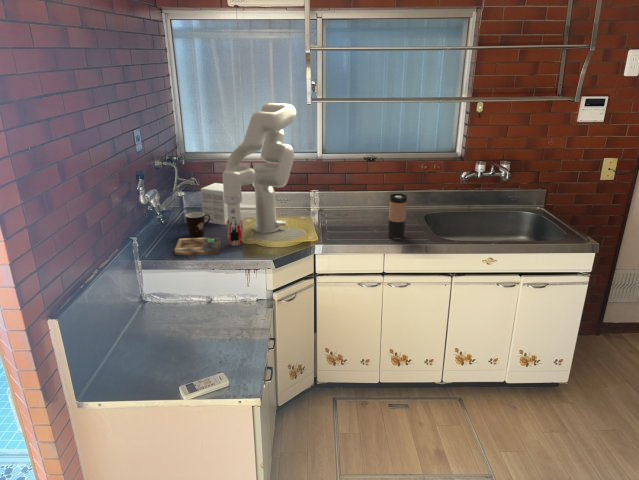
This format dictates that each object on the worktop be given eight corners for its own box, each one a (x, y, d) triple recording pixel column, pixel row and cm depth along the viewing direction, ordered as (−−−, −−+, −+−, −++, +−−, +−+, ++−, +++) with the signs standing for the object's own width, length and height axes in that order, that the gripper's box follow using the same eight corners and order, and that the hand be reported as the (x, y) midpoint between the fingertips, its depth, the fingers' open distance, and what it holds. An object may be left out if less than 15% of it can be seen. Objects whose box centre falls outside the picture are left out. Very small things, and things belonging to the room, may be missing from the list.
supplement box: (216, 214, 261) (214, 182, 255) (238, 217, 256) (236, 184, 250) (202, 222, 249) (199, 188, 243) (225, 225, 245) (223, 191, 239)
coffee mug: (189, 239, 226) (187, 218, 222) (186, 233, 233) (184, 213, 230) (214, 236, 230) (213, 215, 226) (210, 230, 237) (209, 210, 234)
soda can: (240, 247, 217) (239, 221, 212) (225, 246, 218) (223, 220, 214) (246, 241, 223) (244, 216, 219) (231, 240, 224) (229, 215, 220)
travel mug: (394, 233, 235) (397, 192, 228) (407, 237, 230) (410, 195, 223) (384, 237, 230) (386, 195, 223) (397, 241, 225) (400, 198, 218)
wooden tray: (220, 243, 221) (220, 232, 219) (218, 254, 209) (217, 242, 207) (179, 244, 219) (178, 233, 217) (175, 255, 207) (173, 244, 205)
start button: (215, 246, 212) (215, 238, 211) (215, 249, 209) (214, 240, 208) (208, 247, 212) (207, 238, 211) (207, 249, 209) (206, 241, 208)
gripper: (241, 204, 205) (243, 244, 212) (242, 193, 222) (244, 230, 228) (222, 205, 205) (225, 244, 211) (225, 193, 221) (228, 231, 227)
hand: (235, 237), depth 219 cm, fingers closed on soda can, 7 cm apart
